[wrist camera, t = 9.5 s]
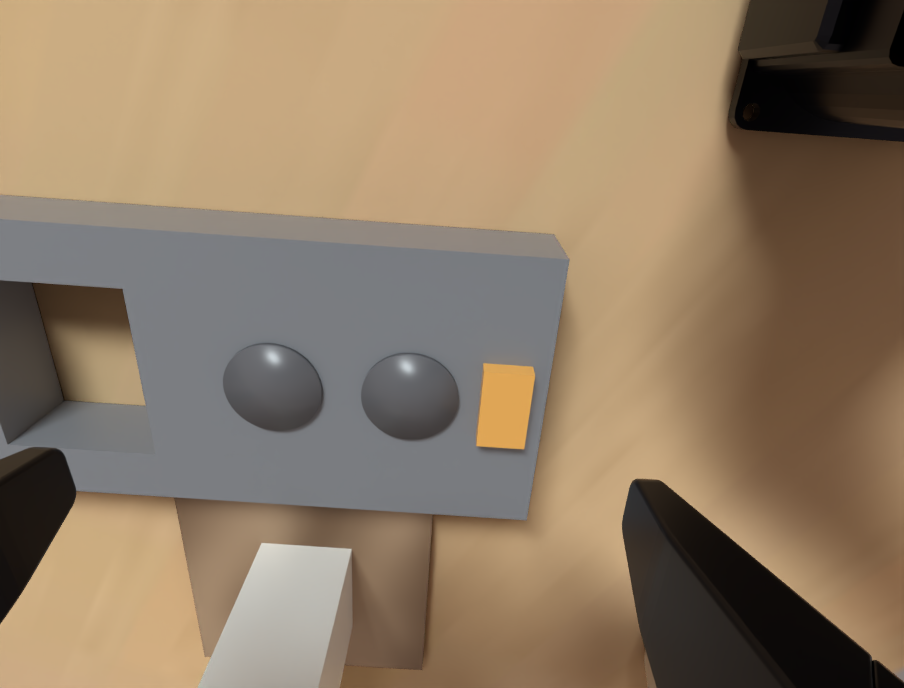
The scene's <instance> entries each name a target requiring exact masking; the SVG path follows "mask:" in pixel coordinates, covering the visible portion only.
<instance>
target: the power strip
mask: <svg viewBox="0 0 904 688" xmlns="http://www.w3.org/2000/svg"><path fill="white" fill-rule="evenodd" d="M568 265H569V258H568V256H567V255H566V253H565V251H564V250H563V248H562V247H561V245H560V243H559V242H558V240H557V238H556V237H555V235H554V234H541V233H527V232H513V231H499V230H485V229H471V228H457V227H443V226H429V225H415V224H401V223H387V222H373V221H359V220H345V219H331V218H317V217H303V216H289V215H275V214H261V213H247V212H233V211H219V210H205V209H191V208H177V207H163V206H149V205H135V204H121V203H107V202H93V201H79V200H65V199H51V198H37V197H23V196H9V195H0V459H2V458H5V457H7V456H10V455H12V454H15V453H17V452H19V451H22V450H24V449H27V448H31V447H48V448H57V449H60V450H61V451H62V452H63V453H64V455H65V457H66V460H67V463H68V466H69V469H70V471H71V474H72V477H73V480H74V483H75V486H76V491H85V492H100V493H116V494H131V495H146V496H162V497H177V498H192V499H208V500H223V501H239V502H254V503H269V504H285V505H300V506H315V507H331V508H346V509H361V510H377V511H392V512H407V513H423V514H438V515H453V516H469V517H484V518H500V519H515V520H527V515H528V509H529V503H530V497H531V491H532V484H533V478H534V472H535V466H536V460H537V454H538V448H539V442H540V436H541V430H542V424H543V417H544V411H545V405H546V399H547V393H548V387H549V381H550V375H551V369H552V363H553V357H554V350H555V344H556V338H557V332H558V326H559V320H560V314H561V308H562V302H563V296H564V290H565V283H566V277H567V271H568ZM31 282H33V283H48V284H62V285H76V286H91V287H105V288H119V289H123V294H124V299H125V304H126V309H127V314H128V319H129V324H130V329H131V334H132V339H133V344H134V349H135V354H136V359H137V364H138V369H139V374H140V379H141V384H142V389H143V394H144V399H145V404H146V406H138V405H123V404H108V403H93V402H78V401H64V399H63V395H62V392H61V388H60V384H59V381H58V377H57V374H56V370H55V366H54V363H53V359H52V355H51V352H50V348H49V344H48V341H47V337H46V334H45V330H44V326H43V323H42V319H41V315H40V312H39V308H38V304H37V301H36V297H35V293H34V290H33V286H32V283H31Z"/></svg>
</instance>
